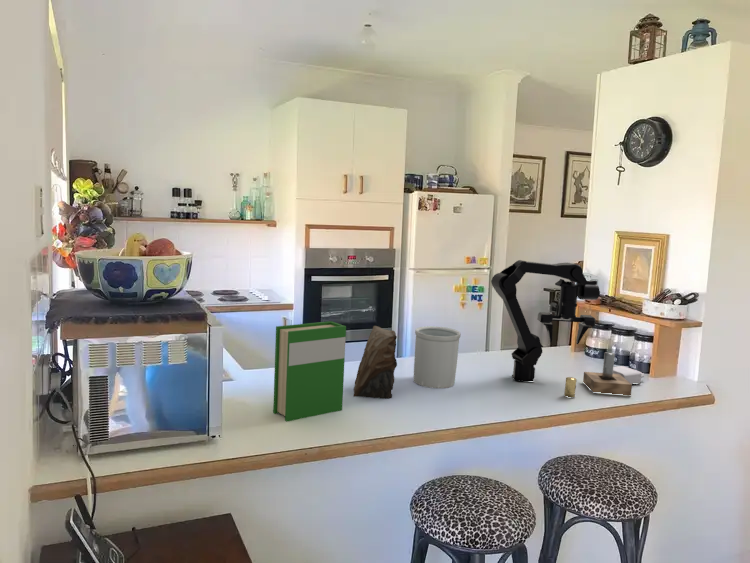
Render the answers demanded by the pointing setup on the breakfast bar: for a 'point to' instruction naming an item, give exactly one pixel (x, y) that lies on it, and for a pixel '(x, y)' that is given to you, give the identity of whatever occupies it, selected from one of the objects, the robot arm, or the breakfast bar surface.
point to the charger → (628, 374)
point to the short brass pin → (570, 387)
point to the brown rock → (377, 365)
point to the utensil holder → (436, 356)
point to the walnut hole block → (607, 383)
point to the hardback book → (309, 369)
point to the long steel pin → (608, 366)
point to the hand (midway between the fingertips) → (563, 343)
